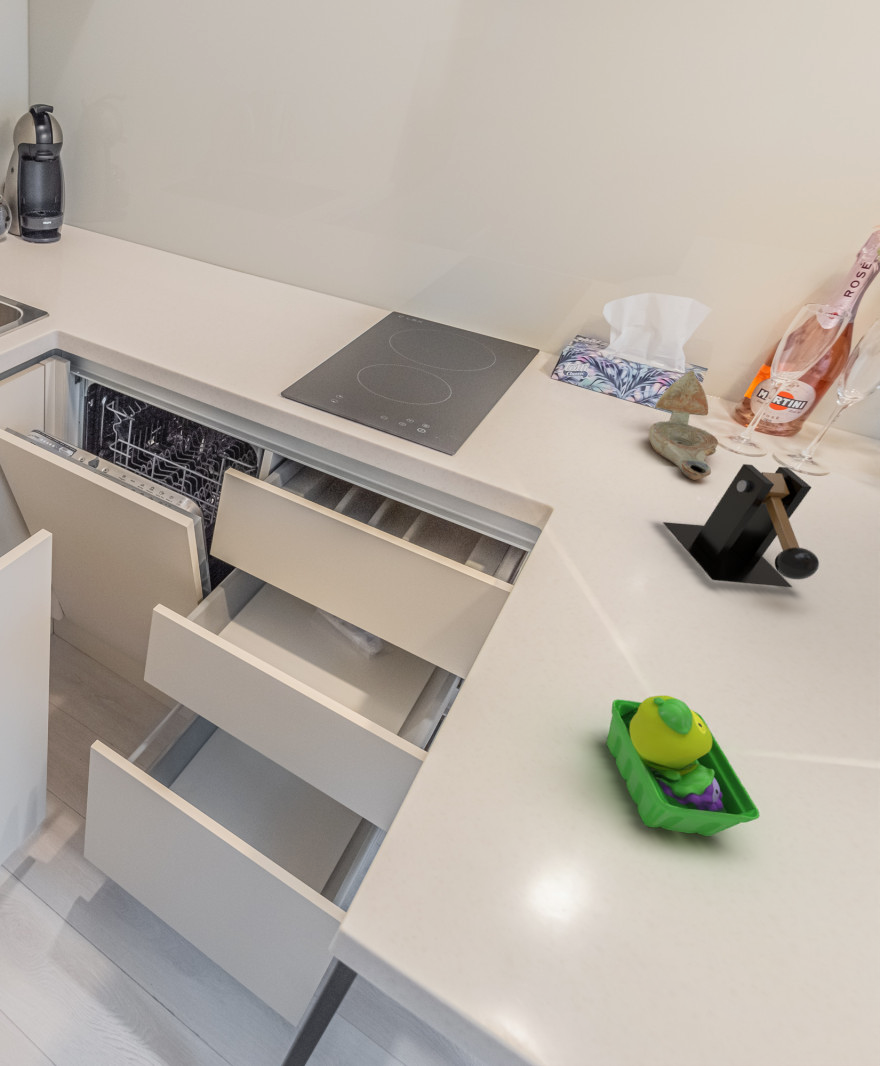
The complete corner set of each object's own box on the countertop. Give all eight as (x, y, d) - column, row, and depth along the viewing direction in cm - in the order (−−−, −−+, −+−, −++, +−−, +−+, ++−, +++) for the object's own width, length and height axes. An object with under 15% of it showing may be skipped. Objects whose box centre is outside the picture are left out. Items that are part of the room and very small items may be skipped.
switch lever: (806, 586, 85) (833, 572, 82) (772, 583, 86) (797, 569, 82) (768, 487, 92) (792, 471, 88) (737, 485, 92) (759, 468, 89)
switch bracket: (786, 595, 91) (854, 507, 83) (707, 587, 92) (767, 500, 84) (729, 535, 100) (785, 452, 93) (658, 529, 101) (708, 446, 93)
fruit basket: (732, 855, 63) (813, 772, 57) (618, 836, 64) (684, 753, 58) (671, 745, 72) (735, 662, 66) (572, 730, 73) (625, 648, 67)
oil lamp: (691, 431, 124) (723, 375, 118) (723, 498, 108) (763, 436, 102) (631, 421, 126) (659, 365, 120) (654, 484, 110) (688, 423, 104)
